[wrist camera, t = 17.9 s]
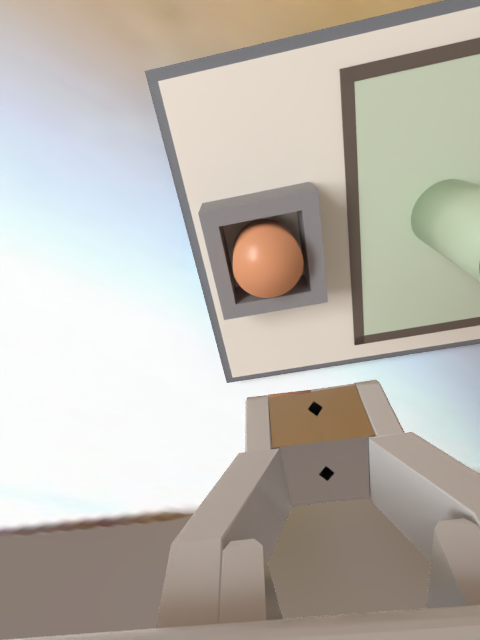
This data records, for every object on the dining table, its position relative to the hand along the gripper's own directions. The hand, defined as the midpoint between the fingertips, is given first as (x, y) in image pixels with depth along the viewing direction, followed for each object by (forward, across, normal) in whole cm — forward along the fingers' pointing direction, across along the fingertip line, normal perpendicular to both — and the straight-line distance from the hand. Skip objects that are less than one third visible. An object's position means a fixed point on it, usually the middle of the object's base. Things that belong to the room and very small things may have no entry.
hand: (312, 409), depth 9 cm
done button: (+12, +1, 0) cm, 12 cm away
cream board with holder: (+15, -6, 0) cm, 16 cm away
